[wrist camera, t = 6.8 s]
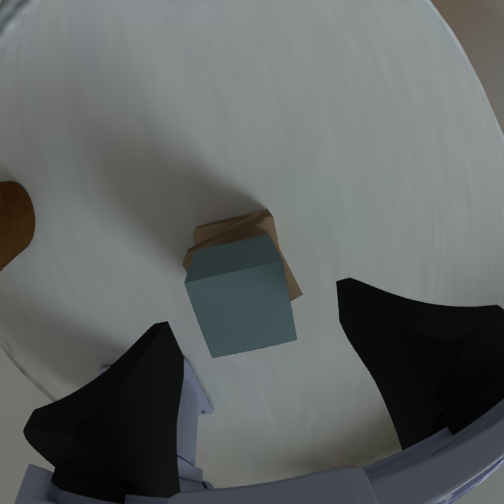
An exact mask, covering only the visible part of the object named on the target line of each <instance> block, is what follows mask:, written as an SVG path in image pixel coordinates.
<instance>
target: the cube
mask: <svg viewBox="0 0 504 504" xmlns="http://www.w3.org/2000/svg"><path fill="white" fill-rule="evenodd" d="M184 283H185V286H186V289H187V292H188V295H189V298H190V301H191V304H192V306H193V309H194V312H195V315H196V317H197V320H198V323H199V325H200V328H201V331H202V333H203V336H204V339H205V341H206V344H207V346H208V349H209V351H210V354H211V356H212V358H215V357H220V356H226V355H231V354H236V353H241V352H246V351H251V350H256V349H260V348H265V347H269V346H274V345H278V344H282V343H286V342H290V341H294V340H297V337H296V331H295V325H294V319H293V313H292V308H291V302H290V296H289V291H288V285H287V280H286V274H285V269H284V264H283V260H282V258H281V256H280V254H279V252H278V250H277V248H276V246H275V244H274V242H273V240H272V238H271V236H270V234H265V235H261V236H256V237H252V238H248V239H244V240H239V241H235V242H231V243H227V244H222V245H218V246H214V247H209V248H205V249H201V250H197V251H195V253H194V256H193V259H192V262H191V265H190V267H189V270H188V273H187V276H186V279H185V282H184Z"/></svg>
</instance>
